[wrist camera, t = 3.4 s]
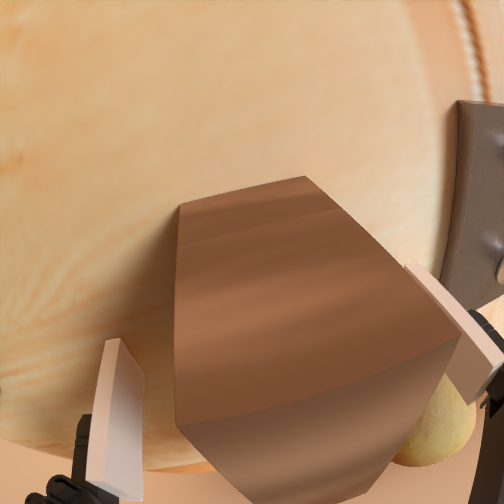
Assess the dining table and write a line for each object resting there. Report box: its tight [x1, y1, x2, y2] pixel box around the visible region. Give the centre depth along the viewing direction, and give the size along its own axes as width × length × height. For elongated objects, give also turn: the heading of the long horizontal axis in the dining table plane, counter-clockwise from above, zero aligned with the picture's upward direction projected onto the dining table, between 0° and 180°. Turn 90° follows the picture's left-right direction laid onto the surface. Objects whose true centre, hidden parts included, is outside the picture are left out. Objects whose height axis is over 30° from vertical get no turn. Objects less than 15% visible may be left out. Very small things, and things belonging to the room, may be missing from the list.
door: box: [174, 176, 462, 504], centre depth 10 cm, size 12×4×8 cm, turn 10°
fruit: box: [391, 372, 476, 467], centre depth 16 cm, size 8×8×8 cm
